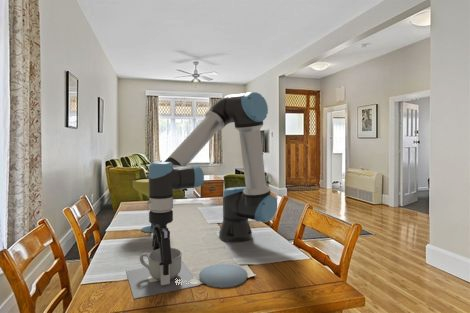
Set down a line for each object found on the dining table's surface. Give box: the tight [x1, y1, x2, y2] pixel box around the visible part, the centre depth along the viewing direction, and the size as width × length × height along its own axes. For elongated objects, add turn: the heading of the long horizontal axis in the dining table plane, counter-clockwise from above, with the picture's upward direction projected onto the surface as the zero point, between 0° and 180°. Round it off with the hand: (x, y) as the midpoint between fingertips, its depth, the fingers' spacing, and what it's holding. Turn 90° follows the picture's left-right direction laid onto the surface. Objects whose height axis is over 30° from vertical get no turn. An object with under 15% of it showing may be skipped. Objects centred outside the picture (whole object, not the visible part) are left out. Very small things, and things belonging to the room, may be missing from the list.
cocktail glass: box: [132, 177, 153, 234], centre depth 154 cm, size 18×18×25 cm
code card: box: [125, 260, 201, 300], centre depth 102 cm, size 20×20×1 cm
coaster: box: [198, 263, 248, 289], centre depth 104 cm, size 16×16×1 cm
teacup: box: [139, 247, 183, 281], centre depth 102 cm, size 14×11×8 cm
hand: (161, 276), depth 102 cm, fingers closed on teacup, 11 cm apart
